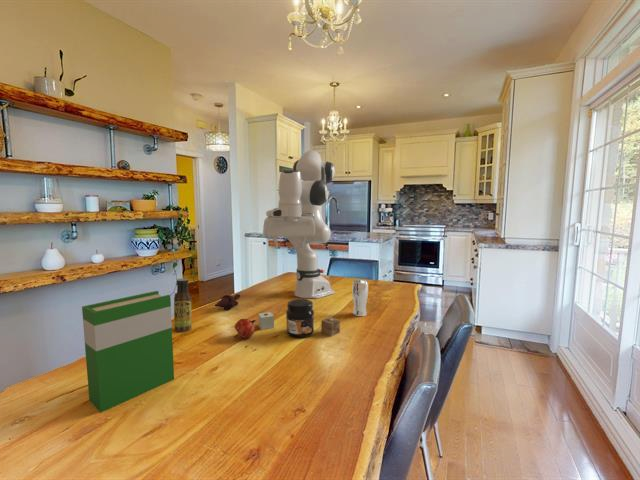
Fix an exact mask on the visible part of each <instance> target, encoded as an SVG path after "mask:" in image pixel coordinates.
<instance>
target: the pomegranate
mask: <svg viewBox="0 0 640 480" xmlns="http://www.w3.org/2000/svg"><path fill="white" fill-rule="evenodd" d="M255 322H257V320H256V319H253V320H250V319H249V318H240V319H239V320H237V321H236V323H235V324H234V329H235V330H236V332H237V334H236V335H233V338H236V337H238V336H240V337H241V338H242V339H244V340H246V339H249V338H251V337H252V336H253V335H254V333H255V330H256V329H255V328H256V327H255V324H254V323H255Z"/></svg>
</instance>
